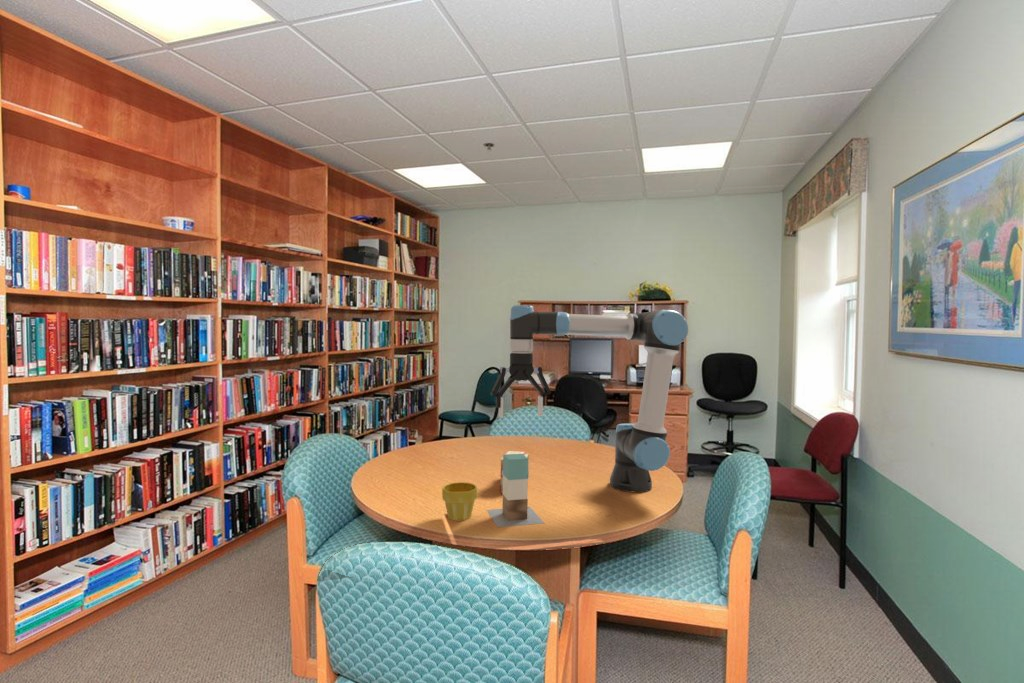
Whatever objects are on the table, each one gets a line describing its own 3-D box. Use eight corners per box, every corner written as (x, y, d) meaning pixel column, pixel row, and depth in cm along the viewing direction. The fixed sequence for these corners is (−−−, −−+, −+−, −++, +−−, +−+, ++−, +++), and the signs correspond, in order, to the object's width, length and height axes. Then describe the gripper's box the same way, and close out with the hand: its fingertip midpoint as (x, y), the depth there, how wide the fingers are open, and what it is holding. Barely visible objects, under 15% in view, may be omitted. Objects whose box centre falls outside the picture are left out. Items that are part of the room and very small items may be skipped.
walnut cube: (521, 511, 155) (521, 492, 155) (527, 519, 150) (527, 498, 149) (502, 513, 154) (502, 493, 154) (507, 520, 148) (508, 500, 148)
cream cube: (521, 492, 155) (521, 473, 155) (527, 498, 149) (527, 478, 149) (502, 493, 154) (502, 474, 153) (507, 500, 148) (508, 480, 148)
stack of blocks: (512, 476, 196) (513, 445, 196) (528, 477, 195) (529, 446, 195) (499, 494, 175) (500, 458, 175) (517, 495, 174) (518, 459, 174)
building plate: (529, 509, 160) (529, 506, 160) (544, 526, 147) (544, 522, 147) (486, 513, 156) (486, 510, 156) (497, 530, 143) (497, 527, 143)
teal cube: (521, 473, 155) (522, 453, 155) (527, 478, 149) (528, 458, 149) (502, 474, 153) (503, 454, 153) (508, 480, 148) (508, 459, 147)
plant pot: (435, 517, 152) (436, 485, 152) (465, 510, 158) (466, 479, 158) (452, 528, 144) (452, 494, 144) (483, 521, 150) (483, 488, 150)
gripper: (552, 351, 174) (551, 413, 174) (481, 352, 167) (481, 416, 167) (561, 352, 167) (560, 417, 167) (487, 353, 159) (486, 420, 160)
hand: (520, 416), depth 167 cm, fingers open, 13 cm apart
